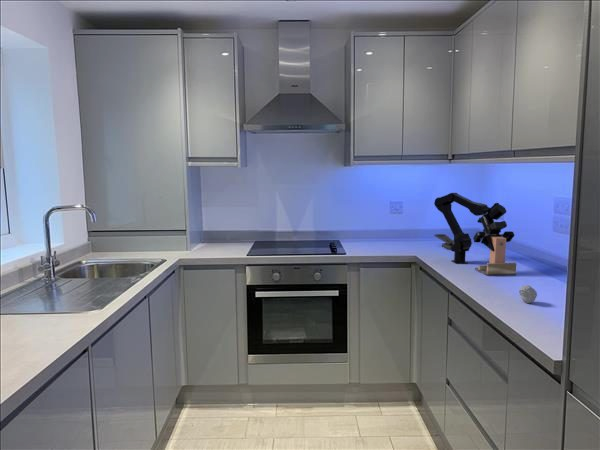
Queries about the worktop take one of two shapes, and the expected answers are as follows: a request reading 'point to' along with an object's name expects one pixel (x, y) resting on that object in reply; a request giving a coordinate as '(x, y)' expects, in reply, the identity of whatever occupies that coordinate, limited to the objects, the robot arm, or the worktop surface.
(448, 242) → the zipper pull
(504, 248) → the cabinet block
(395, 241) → the worktop surface
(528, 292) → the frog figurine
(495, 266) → the cleat board
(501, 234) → the robot arm
